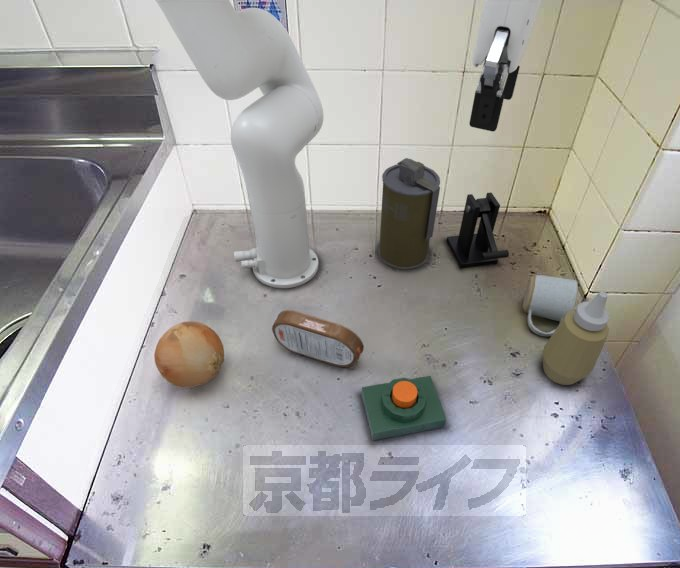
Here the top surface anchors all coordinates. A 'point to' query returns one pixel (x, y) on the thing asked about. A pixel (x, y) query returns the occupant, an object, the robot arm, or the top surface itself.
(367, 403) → the button box
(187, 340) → the onion
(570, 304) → the ceramic mug
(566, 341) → the squeeze bottle
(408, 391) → the button
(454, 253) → the bracket
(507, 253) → the lever
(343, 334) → the tin
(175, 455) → the top surface
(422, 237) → the canister
